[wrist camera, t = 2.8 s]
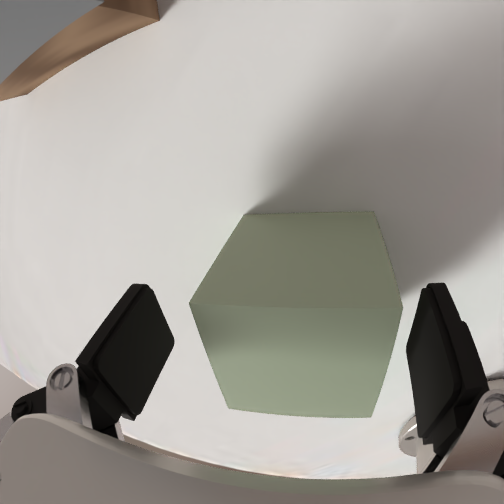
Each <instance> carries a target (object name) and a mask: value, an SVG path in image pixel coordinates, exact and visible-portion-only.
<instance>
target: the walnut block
mask: <svg viewBox="0 0 504 504" xmlns="http://www.w3.org/2000/svg"><path fill="white" fill-rule="evenodd" d="M157 21H160V20H159V13H158V6H157V0H104V2H103V3H102V4H100V5H98V6H97V7H95V8H94V9H92V10H90V11H89V12H87V13H86V14H84V15H83V16H81V17H80V18H78V19H77V20H75V21H74V22H72V23H71V24H70V25H68V26H67V27H65V28H64V29H63V30H61V31H60V32H59V33H57V34H56V35H55V36H53V37H52V38H51V39H50V40H48V41H47V42H46V43H45V44H43V45H42V46H41V47H40V48H38V49H37V50H36V51H35V52H34V53H33V54H31V55H30V56H29V57H28V58H27V59H26V60H25V61H24V62H23V63H21V64H20V65H19V66H18V67H17V68H16V69H15V70H14V71H13V72H12V73H11V74H10V75H9V76H8V77H7V78H6V79H5V80H4V81H3V82H2V83H1V84H0V101H3V100H7V99H10V98H14V97H18V96H22V95H27V94H28V93H30V92H31V91H32V90H34V89H35V88H36V87H38V86H39V85H41V84H42V83H43V82H45V81H46V80H48V79H49V78H51V77H52V76H54V75H55V74H57V73H58V72H60V71H61V70H63V69H64V68H66V67H67V66H69V65H71V64H72V63H74V62H76V61H77V60H79V59H81V58H82V57H84V56H86V55H88V54H89V53H91V52H93V51H95V50H97V49H99V48H100V47H102V46H104V45H106V44H108V43H110V42H112V41H114V40H116V39H118V38H120V37H122V36H125V35H127V34H129V33H131V32H133V31H136V30H138V29H140V28H143V27H145V26H147V25H150V24H152V23H155V22H157Z"/></svg>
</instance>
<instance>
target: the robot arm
mask: <svg viewBox="0 0 504 504" xmlns="http://www.w3.org/2000/svg"><path fill="white" fill-rule="evenodd" d="M173 346H174V337H173V335H172V333H171V330H170V328H169V326H168V324H167V321H166V319H165V317H164V315H163V312H162V310H161V308H160V305H159V303H158V301H157V298H156V296H155V294H154V291H153V290H152V289H151V288H150V287H149V286H148V285H147V284H132V285H131V286H130V287H129V289H128V290H127V291H126V292H125V294H124V295H123V296H122V298H121V299H120V300H119V302H118V303H117V304H116V305H115V307H114V308H113V309H112V311H111V312H110V313H109V315H108V316H107V317H106V319H105V320H104V322H103V323H102V324H101V326H100V327H99V328H98V330H97V331H96V332H95V334H94V335H93V337H92V338H91V339H90V341H89V342H88V344H87V345H86V346H85V348H84V349H83V351H82V352H81V354H80V355H79V357H78V358H77V359H76V361H75V362H76V363H77V364H78V368H77V369H76V368H75V366H74V365H72V364H67V363H66V364H61V365H59V366H57V367H56V368H55V369H54V370H52V372H51V373H50V374H49V376H48V379H47V383H46V387H43V388H41V389H39V390H36V391H34V392H32V393H29V394H27V395H25V396H22V397H21V398H19V399H18V400H17V401H16V402H15V403H14V405H13V408H12V413H8V414H7V415H6V416H4V417H3V418H2V419H0V504H504V379H497V380H492V381H487V379H486V376H485V373H484V370H483V367H482V363H481V361H480V358H479V355H478V352H477V349H476V346H475V344H474V341H473V338H472V336H471V333H470V331H469V328H468V326H467V324H466V323H465V322H464V321H461V318H460V316H459V313H458V311H457V309H456V306H455V304H454V302H453V299H452V297H451V295H450V293H449V291H448V288H447V286H446V284H445V283H429V284H428V285H427V287H426V288H423V289H422V291H421V294H420V298H419V302H418V306H417V310H416V314H415V318H414V321H413V325H412V328H411V332H410V335H409V338H408V342H407V346H406V354H407V360H408V365H409V371H410V377H411V384H412V391H413V398H414V406H415V414H416V416H414V417H413V418H412V419H411V420H410V421H408V422H407V423H406V424H405V425H404V427H403V428H402V430H401V431H400V433H399V437H398V438H399V448H400V450H401V451H402V452H403V453H405V454H407V455H410V456H414V457H416V459H417V474H413V475H405V476H396V477H385V478H369V479H336V480H331V479H300V478H286V477H275V476H266V475H257V474H250V473H243V472H237V471H231V470H226V469H220V468H215V467H210V466H206V465H201V464H197V463H193V462H189V461H185V460H181V459H177V458H173V457H170V456H166V455H163V454H160V453H156V452H153V451H150V450H147V449H144V448H141V447H138V446H135V445H132V444H129V443H127V442H125V441H124V437H123V433H122V430H121V426H120V422H119V418H120V416H122V417H123V418H126V419H129V420H132V421H134V420H135V418H136V416H137V415H139V414H140V413H141V412H142V410H143V408H144V406H145V404H146V402H147V399H148V397H149V395H150V393H151V391H152V389H153V387H154V385H155V383H156V381H157V379H158V377H159V375H160V373H161V371H162V369H163V367H164V365H165V363H166V361H167V359H168V357H169V355H170V353H171V351H172V349H173Z"/></svg>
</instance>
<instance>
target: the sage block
mask: <svg viewBox="0 0 504 504" xmlns="http://www.w3.org/2000/svg"><path fill="white" fill-rule="evenodd" d="M189 305H190V308H191V311H192V314H193V317H194V320H195V323H196V325H197V328H198V331H199V334H200V337H201V339H202V342H203V345H204V348H205V350H206V353H207V356H208V358H209V361H210V364H211V366H212V369H213V371H214V374H215V377H216V379H217V382H218V384H219V387H220V389H221V392H222V394H223V396H224V399H225V401H226V404H227V406H228V408H229V409H235V410H242V411H250V412H258V413H267V414H277V415H289V416H304V417H328V418H366V417H371V416H372V414H373V411H374V408H375V405H376V402H377V400H378V397H379V394H380V391H381V388H382V385H383V382H384V378H385V375H386V372H387V369H388V365H389V362H390V358H391V355H392V351H393V347H394V344H395V340H396V336H397V332H398V328H399V323H400V319H401V314H402V310H403V305H402V301H401V297H400V293H399V290H398V286H397V282H396V279H395V275H394V272H393V268H392V265H391V262H390V258H389V255H388V252H387V249H386V246H385V243H384V240H383V237H382V234H381V231H380V228H379V225H378V222H377V219H376V216H375V214H374V212H307V213H274V214H249V215H243V217H242V218H241V220H240V222H239V223H238V225H237V226H236V228H235V229H234V231H233V233H232V234H231V236H230V237H229V239H228V240H227V242H226V244H225V245H224V247H223V248H222V250H221V252H220V253H219V255H218V256H217V258H216V260H215V261H214V263H213V264H212V266H211V268H210V269H209V271H208V273H207V274H206V276H205V277H204V279H203V281H202V282H201V284H200V286H199V287H198V289H197V290H196V292H195V294H194V295H193V297H192V299H191V300H190V302H189Z"/></svg>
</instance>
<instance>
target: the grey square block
mask: <svg viewBox="0 0 504 504" xmlns="http://www.w3.org/2000/svg"><path fill="white" fill-rule="evenodd" d="M103 2H104V0H0V84H1V83H2V82H3V81H4V80H5V79H6V78H7V77H8V76H9V75H10V74H11V73H12V72H13V71H14V70H15V69H16V68H17V67H18V66H19V65H20V64H21V63H23V62H24V61H25V60H26V59H27V58H28V57H29V56H30V55H31V54H33V53H34V52H35V51H36V50H37V49H38V48H40V47H41V46H42V45H43V44H45V43H46V42H47V41H48V40H50V39H51V38H52V37H53V36H55V35H56V34H57V33H59V32H60V31H61V30H63V29H64V28H65V27H67V26H68V25H70V24H71V23H72V22H74V21H75V20H77V19H78V18H80V17H81V16H83V15H84V14H86V13H87V12H89V11H90V10H92V9H94V8H95V7H97V6H98V5H100V4H102V3H103Z"/></svg>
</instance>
